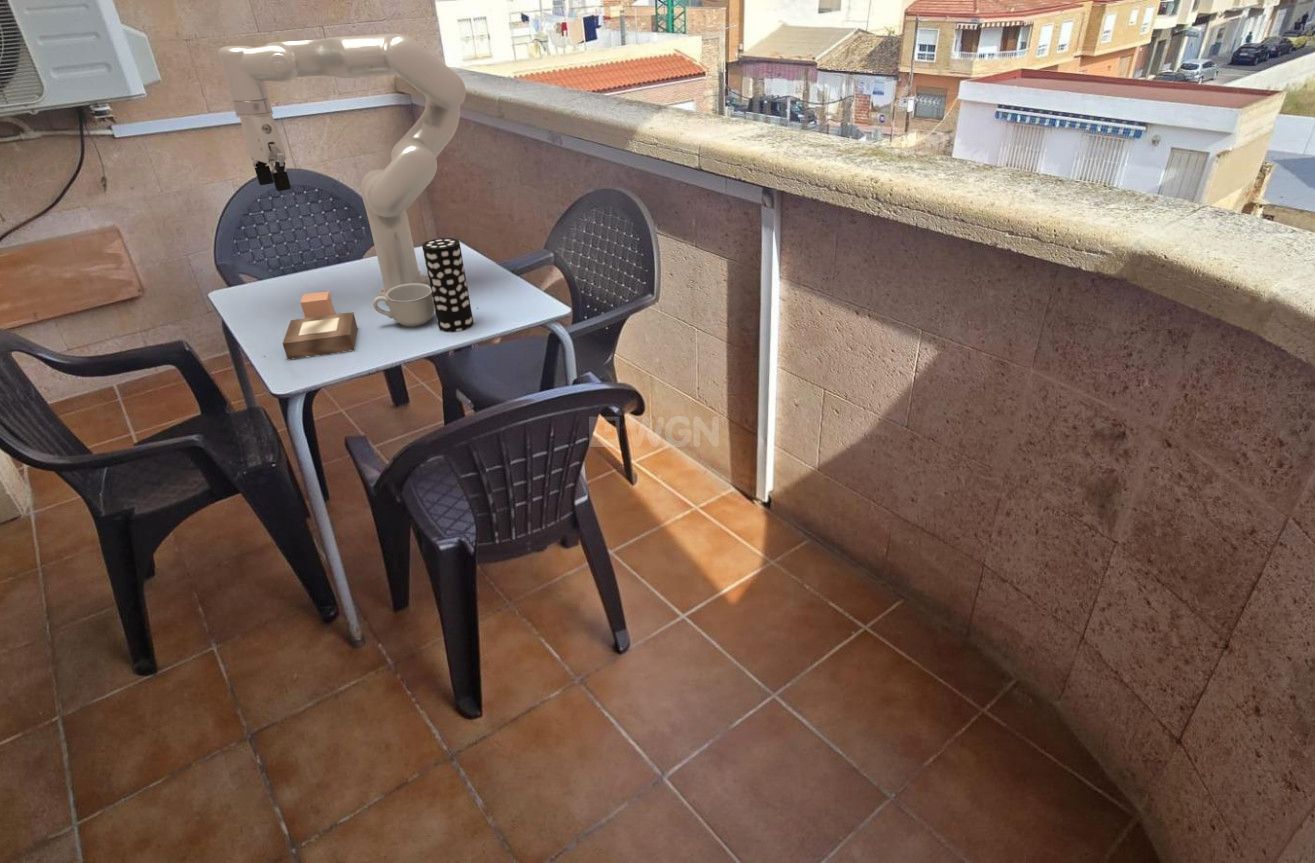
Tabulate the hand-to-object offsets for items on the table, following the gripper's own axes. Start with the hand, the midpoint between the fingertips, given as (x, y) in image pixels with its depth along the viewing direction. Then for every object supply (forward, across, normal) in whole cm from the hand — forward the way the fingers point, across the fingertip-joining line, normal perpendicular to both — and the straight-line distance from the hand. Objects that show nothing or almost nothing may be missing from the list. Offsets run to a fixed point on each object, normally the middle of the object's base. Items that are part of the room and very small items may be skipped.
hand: (275, 187), depth 172 cm
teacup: (+31, -28, -12) cm, 43 cm away
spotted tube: (+31, -39, -19) cm, 53 cm away
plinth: (+31, -24, +7) cm, 39 cm away
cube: (+31, -9, +1) cm, 32 cm away
